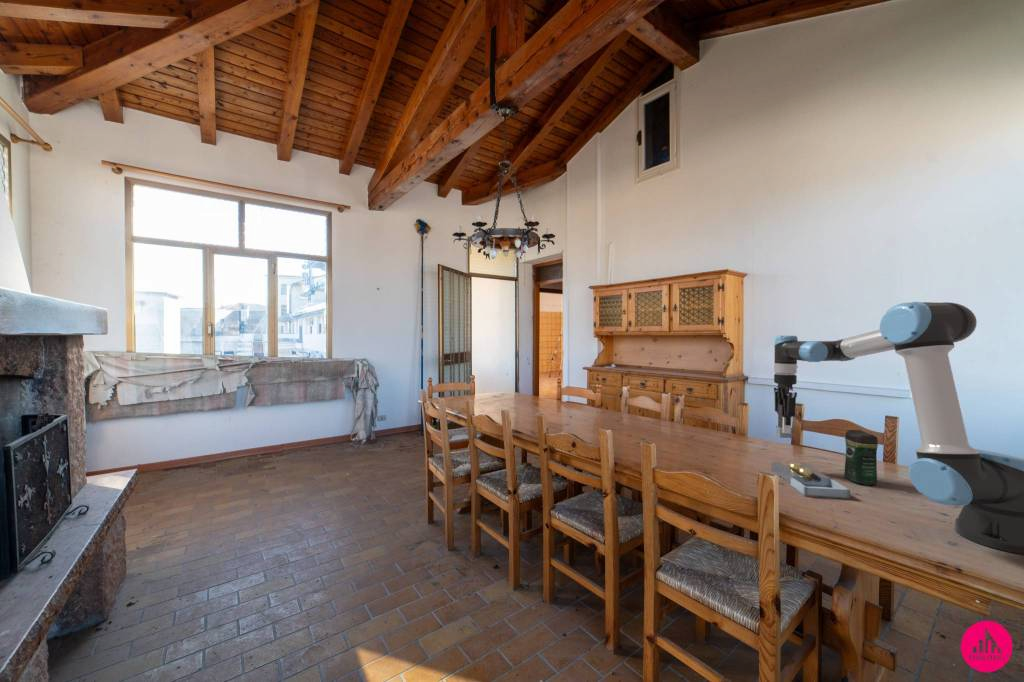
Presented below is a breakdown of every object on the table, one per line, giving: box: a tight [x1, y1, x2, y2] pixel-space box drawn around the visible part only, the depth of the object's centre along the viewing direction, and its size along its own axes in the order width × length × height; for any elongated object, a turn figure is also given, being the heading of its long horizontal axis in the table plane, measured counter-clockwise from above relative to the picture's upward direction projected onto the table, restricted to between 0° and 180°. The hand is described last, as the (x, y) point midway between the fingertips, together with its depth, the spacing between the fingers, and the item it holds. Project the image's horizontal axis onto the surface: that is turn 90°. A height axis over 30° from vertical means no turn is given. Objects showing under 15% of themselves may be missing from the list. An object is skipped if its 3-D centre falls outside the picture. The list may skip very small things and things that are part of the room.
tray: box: [790, 478, 851, 500], centre depth 139 cm, size 9×14×3 cm, turn 81°
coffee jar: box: [844, 429, 879, 486], centre depth 149 cm, size 10×8×19 cm
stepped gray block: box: [775, 404, 793, 439], centre depth 162 cm, size 3×4×13 cm
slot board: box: [771, 461, 832, 487], centre depth 151 cm, size 16×12×4 cm
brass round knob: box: [788, 461, 802, 474], centre depth 153 cm, size 4×4×3 cm
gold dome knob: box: [799, 467, 812, 479], centre depth 148 cm, size 4×4×3 cm
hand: (784, 431), depth 163 cm, fingers closed on stepped gray block, 3 cm apart
